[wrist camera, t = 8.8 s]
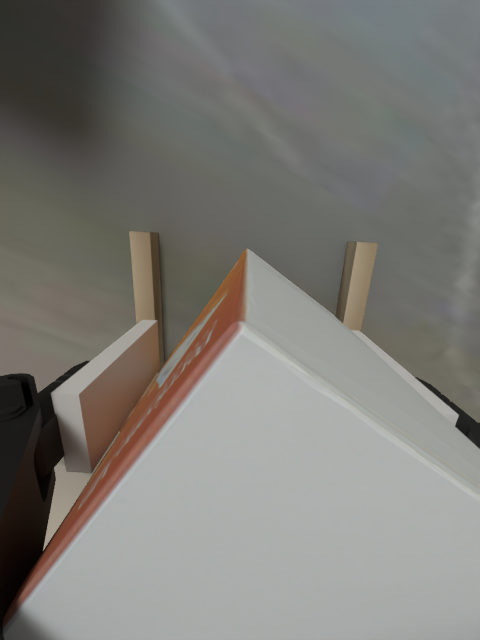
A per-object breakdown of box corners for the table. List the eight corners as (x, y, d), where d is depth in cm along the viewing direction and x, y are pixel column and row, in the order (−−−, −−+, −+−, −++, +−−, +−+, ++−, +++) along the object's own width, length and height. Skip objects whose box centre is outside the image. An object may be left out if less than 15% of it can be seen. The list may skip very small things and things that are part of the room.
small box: (245, 245, 15) (245, 299, 2) (332, 311, 16) (671, 611, 3) (168, 353, 17) (-62, 701, 4) (249, 405, 18) (257, 808, 5)
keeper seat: (151, 406, 21) (122, 457, 16) (139, 231, 17) (96, 230, 12) (334, 415, 21) (361, 470, 16) (366, 242, 17) (414, 245, 12)
